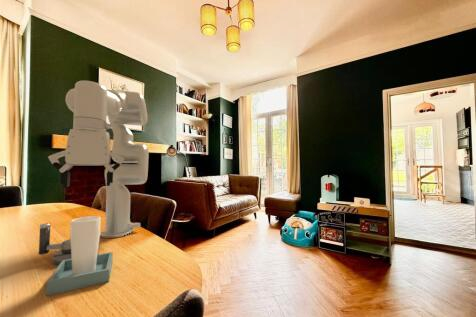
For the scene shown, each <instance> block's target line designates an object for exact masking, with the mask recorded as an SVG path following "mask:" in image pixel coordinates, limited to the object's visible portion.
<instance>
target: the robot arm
mask: <svg viewBox="0 0 476 317" xmlns="http://www.w3.org/2000/svg"><path fill="white" fill-rule="evenodd" d="M65 104H66V106H67V108H68V109H69V111H71V112H72V113H73V119H72V120H73V122H72V123H73V126H72V128H70V129H69V132H68V136H67V140H66V145H65V149H64V150H62V151H59V152H56V153H52V154H51V155H49V156H47V158H48V160H49V161H50V163H51V164H52V166H53V167H54V168H55V169H56V170H58V171H59V172H60V185H62V186H63V188H68V187H70V185H71V172H70V170H71V169H72V168H73V166H80V167H82V166H86V167H87V166H91V167H92V166H94V167H95V166H104V168H105V169H104V180H105V188H106V189H105V190H106V191H105V195H106V197H105V198H106V199H105V223H104V225H105V227H104V230H102V231H100V237H102V238H106V239H112V238H121V237H124V235H125V236H127V234H128V235H130V234H132V233H133V232H134V228H141V222H131V218H130V217H131V193H130V191H129V189H128V187H127V186H128V185H129V186H130V185H143V184H145V183H146V182H147V180H148V177H149V176H148V174H149V173H148V172H149V157H150V156H149V155H150V154H149V147H148V146H147V145H145V144H143V143H134V134H133V133H132V131H131V130H130V129H129V128H128V127H127V126H129V125H130V126H140V127H141V126H145V125H146V124H147V123H148V117H149V116H148V112H147V106H146V100H145V98H144V96H143V95H142V93H140V92H137V91H129V90H122V89H121V90H120V89H107V88H106V87H105V86H104V85H103V84H100V83H99V82H96V81H92V80H91V81H90V80H79V81H77V82H76V83H75V84H74V88H71V89H69V90H68V92H66V95H65ZM107 118H108V122H109V123H108V122H107ZM126 125H127V126H126ZM109 129H111V130H112V133H113V137H112V138H113V140H112V145H111V138H110V132H108V131H107V130H109ZM111 146H112V147H111ZM63 157H64V161H65V164H64V165H63V164H61V163H60V161H59V159H60V158H63ZM111 159H112V160H113V161H114V162H116V163H113V164H111V161H112V160H111ZM125 185H127V186H125ZM132 231H133V232H132ZM131 232H132V233H131ZM129 233H130V234H129Z"/></svg>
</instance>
